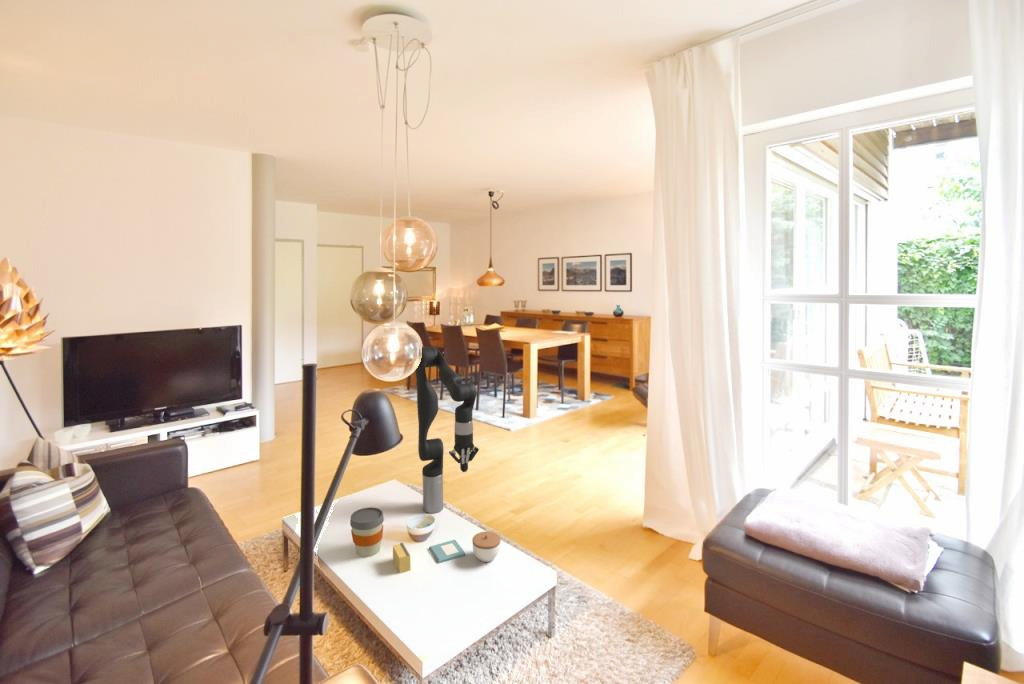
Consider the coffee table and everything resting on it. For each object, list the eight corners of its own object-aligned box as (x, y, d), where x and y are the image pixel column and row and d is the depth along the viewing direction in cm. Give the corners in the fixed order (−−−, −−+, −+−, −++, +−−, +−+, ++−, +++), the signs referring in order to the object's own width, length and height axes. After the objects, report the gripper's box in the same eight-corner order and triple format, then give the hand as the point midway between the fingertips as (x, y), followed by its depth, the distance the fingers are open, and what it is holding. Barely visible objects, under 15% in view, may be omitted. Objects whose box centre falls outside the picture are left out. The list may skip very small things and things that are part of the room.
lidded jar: (500, 549, 193) (500, 527, 191) (500, 565, 182) (500, 542, 181) (473, 549, 193) (473, 527, 191) (471, 566, 182) (471, 542, 181)
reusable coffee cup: (376, 561, 184) (374, 524, 182) (345, 558, 186) (343, 521, 184) (389, 543, 196) (388, 508, 194) (361, 540, 198) (359, 505, 196)
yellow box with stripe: (393, 560, 185) (392, 545, 184) (403, 557, 187) (403, 542, 186) (399, 573, 177) (399, 557, 176) (410, 570, 179) (410, 554, 178)
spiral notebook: (429, 548, 193) (429, 546, 193) (454, 541, 198) (454, 539, 198) (438, 563, 183) (438, 560, 183) (465, 555, 189) (465, 552, 188)
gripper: (474, 426, 205) (474, 465, 208) (445, 430, 199) (445, 471, 202) (482, 431, 199) (482, 471, 201) (452, 436, 192) (452, 477, 195)
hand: (464, 471), depth 201 cm, fingers closed
